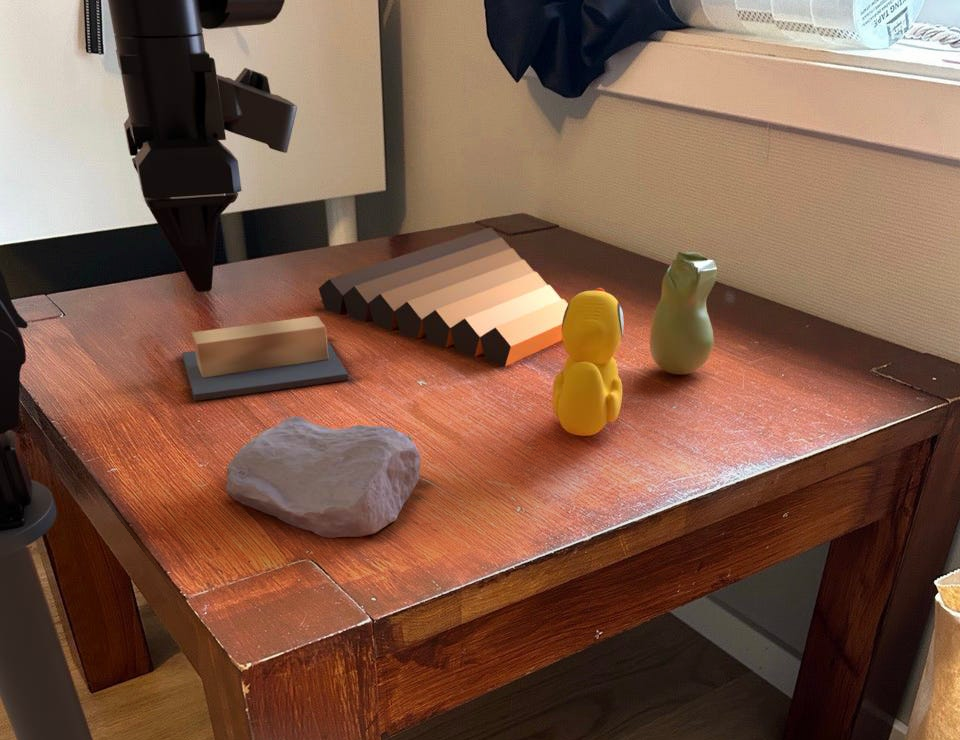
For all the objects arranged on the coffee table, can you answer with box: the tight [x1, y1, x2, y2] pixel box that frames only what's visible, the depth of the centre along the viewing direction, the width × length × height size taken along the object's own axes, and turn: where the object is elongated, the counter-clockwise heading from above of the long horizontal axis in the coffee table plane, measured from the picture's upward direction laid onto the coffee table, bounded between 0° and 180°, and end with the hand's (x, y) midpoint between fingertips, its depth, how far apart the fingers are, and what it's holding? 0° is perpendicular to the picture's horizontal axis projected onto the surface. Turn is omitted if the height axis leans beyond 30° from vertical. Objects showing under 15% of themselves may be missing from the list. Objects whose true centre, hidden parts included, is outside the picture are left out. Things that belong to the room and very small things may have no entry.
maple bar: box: [191, 315, 329, 378], centre depth 84 cm, size 11×3×3 cm, turn 112°
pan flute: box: [318, 226, 569, 367], centre depth 99 cm, size 25×3×25 cm
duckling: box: [552, 287, 624, 437], centre depth 73 cm, size 11×5×10 cm, turn 169°
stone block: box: [225, 415, 421, 539], centre depth 66 cm, size 12×5×10 cm
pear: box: [649, 251, 718, 376], centre depth 82 cm, size 6×5×10 cm
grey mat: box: [182, 339, 350, 402], centre depth 85 cm, size 13×10×1 cm
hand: (196, 273), depth 73 cm, fingers open, 9 cm apart
